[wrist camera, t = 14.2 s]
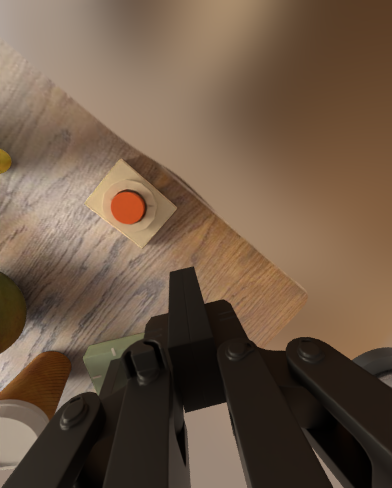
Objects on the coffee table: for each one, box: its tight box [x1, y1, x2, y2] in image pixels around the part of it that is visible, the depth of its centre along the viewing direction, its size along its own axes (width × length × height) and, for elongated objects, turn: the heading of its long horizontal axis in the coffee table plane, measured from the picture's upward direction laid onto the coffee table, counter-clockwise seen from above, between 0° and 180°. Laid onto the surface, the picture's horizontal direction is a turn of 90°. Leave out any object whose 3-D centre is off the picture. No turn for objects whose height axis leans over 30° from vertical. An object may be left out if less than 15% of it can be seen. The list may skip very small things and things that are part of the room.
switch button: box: [111, 192, 145, 224], centre depth 28 cm, size 4×4×2 cm
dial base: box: [83, 332, 145, 396], centre depth 37 cm, size 10×9×3 cm
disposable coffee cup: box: [0, 351, 71, 470], centre depth 32 cm, size 10×10×12 cm
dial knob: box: [99, 358, 128, 399], centre depth 33 cm, size 5×2×7 cm, turn 11°
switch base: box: [84, 158, 177, 249], centre depth 31 cm, size 10×8×4 cm
